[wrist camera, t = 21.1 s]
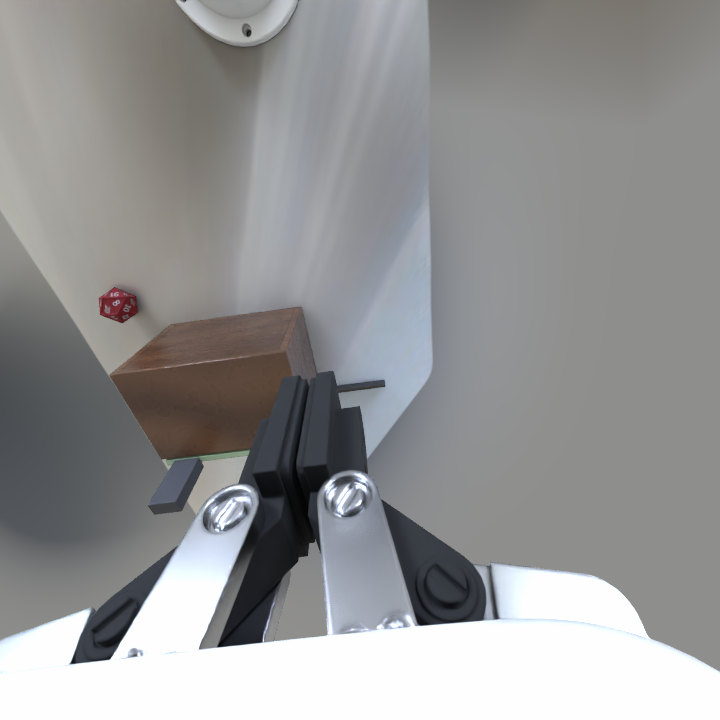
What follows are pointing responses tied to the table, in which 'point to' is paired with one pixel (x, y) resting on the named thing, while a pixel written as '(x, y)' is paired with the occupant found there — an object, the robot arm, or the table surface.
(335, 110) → the table surface
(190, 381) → the cabinet
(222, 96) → the table surface
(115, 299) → the dice
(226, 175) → the table surface
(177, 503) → the sliding door
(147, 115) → the table surface
